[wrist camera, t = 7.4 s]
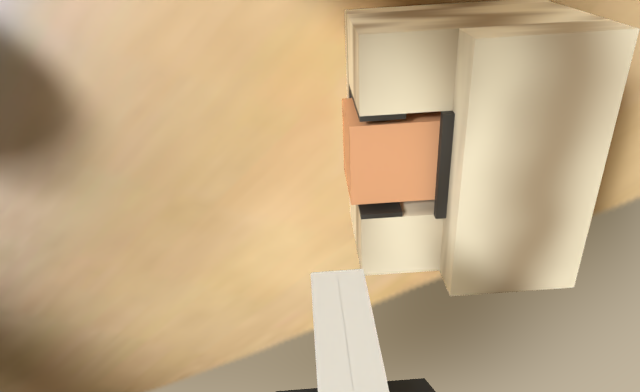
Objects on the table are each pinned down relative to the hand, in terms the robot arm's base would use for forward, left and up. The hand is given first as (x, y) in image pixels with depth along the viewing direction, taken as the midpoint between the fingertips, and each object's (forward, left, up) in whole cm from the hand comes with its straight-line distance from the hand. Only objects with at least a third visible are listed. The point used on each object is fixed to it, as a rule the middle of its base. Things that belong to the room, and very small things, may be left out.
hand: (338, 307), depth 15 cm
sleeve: (+7, 0, -15) cm, 17 cm away
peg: (+6, 0, -13) cm, 15 cm away
